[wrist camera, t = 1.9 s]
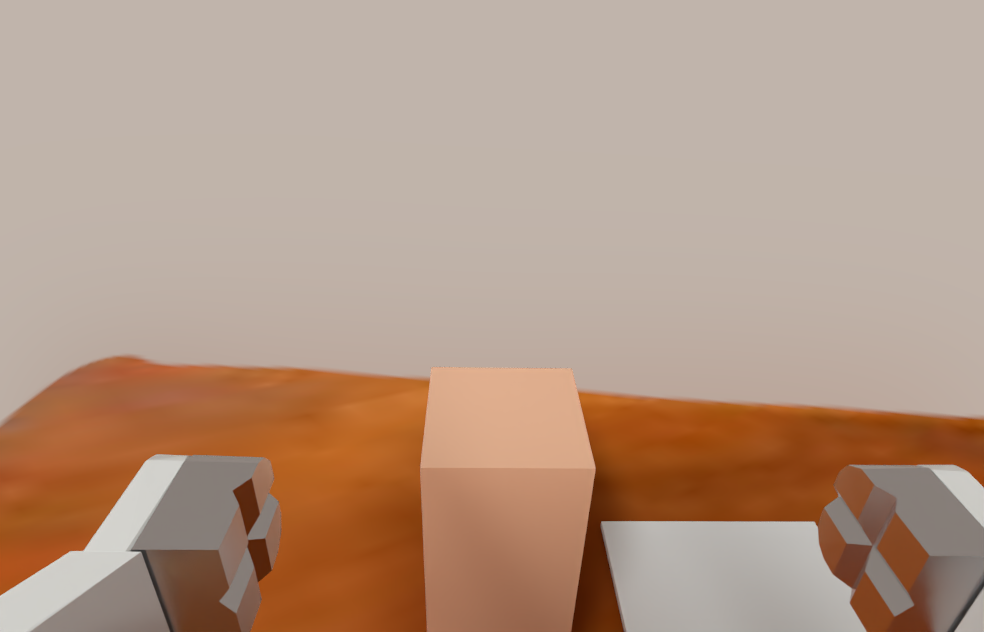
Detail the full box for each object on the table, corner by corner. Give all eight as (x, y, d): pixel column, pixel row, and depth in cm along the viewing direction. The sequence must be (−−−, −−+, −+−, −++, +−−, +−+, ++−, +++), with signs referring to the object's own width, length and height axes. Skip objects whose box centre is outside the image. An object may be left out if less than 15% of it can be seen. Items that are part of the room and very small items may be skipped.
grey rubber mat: (811, 526, 34) (814, 521, 34) (959, 770, 24) (963, 765, 24) (600, 526, 34) (601, 521, 34) (655, 774, 23) (657, 769, 23)
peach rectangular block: (550, 556, 32) (571, 368, 26) (564, 670, 27) (595, 468, 21) (436, 556, 32) (431, 366, 26) (428, 671, 26) (420, 467, 21)
